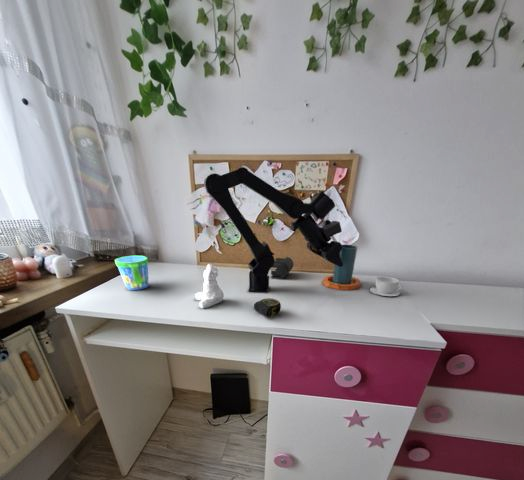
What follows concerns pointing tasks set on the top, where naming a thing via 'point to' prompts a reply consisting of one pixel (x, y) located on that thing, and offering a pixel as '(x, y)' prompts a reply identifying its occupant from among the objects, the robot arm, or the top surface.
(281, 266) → the end cap
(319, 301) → the top surface
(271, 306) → the tape measure
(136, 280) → the snack cup
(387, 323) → the top surface
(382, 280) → the teacup
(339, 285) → the ring
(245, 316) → the top surface
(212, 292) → the sitting furry creature
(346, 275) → the cup
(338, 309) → the top surface
